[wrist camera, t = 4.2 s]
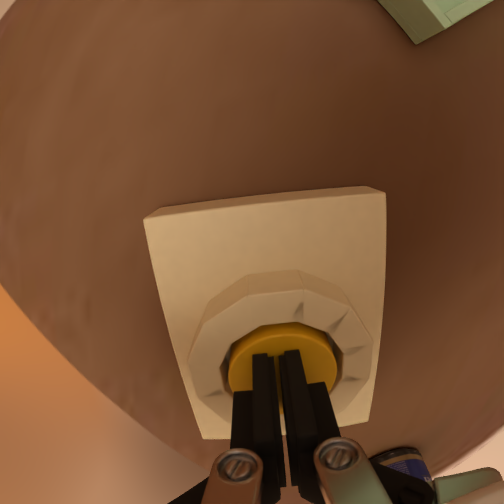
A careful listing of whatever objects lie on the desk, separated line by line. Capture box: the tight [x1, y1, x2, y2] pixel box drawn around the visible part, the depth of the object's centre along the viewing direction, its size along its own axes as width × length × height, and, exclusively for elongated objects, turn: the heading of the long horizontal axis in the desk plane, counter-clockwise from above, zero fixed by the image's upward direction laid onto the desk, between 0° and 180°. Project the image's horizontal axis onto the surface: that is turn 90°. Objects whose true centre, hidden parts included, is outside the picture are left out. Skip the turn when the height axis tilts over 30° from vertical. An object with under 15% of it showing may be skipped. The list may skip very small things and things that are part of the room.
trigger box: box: [143, 186, 386, 439], centre depth 13 cm, size 12×9×4 cm
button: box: [228, 322, 337, 414], centre depth 12 cm, size 4×4×2 cm
